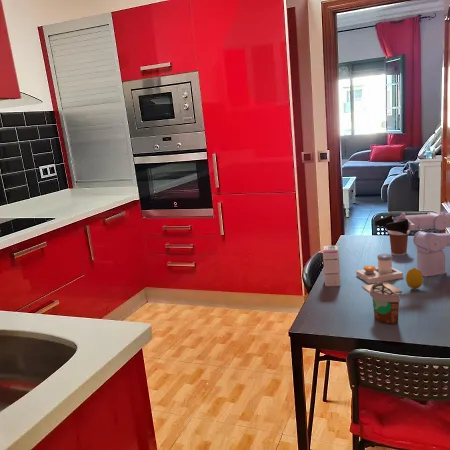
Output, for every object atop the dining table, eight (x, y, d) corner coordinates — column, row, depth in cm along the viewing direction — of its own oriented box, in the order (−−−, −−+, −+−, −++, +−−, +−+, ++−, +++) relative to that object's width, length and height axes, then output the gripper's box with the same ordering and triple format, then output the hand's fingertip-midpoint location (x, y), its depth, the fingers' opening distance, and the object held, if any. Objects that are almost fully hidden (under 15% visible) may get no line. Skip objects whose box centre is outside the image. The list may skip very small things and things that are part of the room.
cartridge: (387, 272, 177) (387, 253, 175) (395, 276, 172) (395, 256, 170) (375, 274, 176) (374, 255, 174) (382, 278, 171) (382, 259, 169)
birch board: (386, 282, 167) (386, 281, 167) (401, 292, 157) (401, 291, 157) (361, 287, 165) (361, 286, 165) (375, 296, 156) (375, 295, 155)
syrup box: (340, 286, 168) (339, 249, 165) (324, 286, 169) (322, 249, 166) (340, 280, 174) (338, 244, 170) (324, 281, 175) (322, 245, 172)
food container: (364, 312, 145) (363, 283, 143) (382, 309, 145) (382, 280, 143) (380, 329, 133) (379, 297, 131) (400, 326, 133) (400, 295, 131)
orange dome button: (372, 272, 175) (371, 264, 174) (377, 275, 171) (377, 268, 170) (361, 273, 174) (361, 266, 174) (367, 277, 170) (367, 270, 170)
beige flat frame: (388, 269, 180) (388, 265, 179) (403, 277, 170) (403, 272, 170) (356, 275, 177) (356, 270, 177) (369, 283, 168) (368, 278, 167)
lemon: (422, 286, 160) (422, 265, 158) (423, 292, 155) (423, 270, 153) (405, 286, 162) (405, 265, 160) (406, 292, 157) (406, 270, 155)
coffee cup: (411, 250, 200) (411, 224, 197) (407, 257, 192) (407, 230, 190) (390, 249, 205) (390, 224, 202) (385, 255, 197) (385, 229, 195)
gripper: (403, 209, 173) (371, 211, 171) (426, 215, 159) (392, 217, 157) (402, 226, 175) (370, 229, 172) (425, 234, 161) (391, 237, 158)
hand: (380, 225), depth 165 cm, fingers open, 7 cm apart
